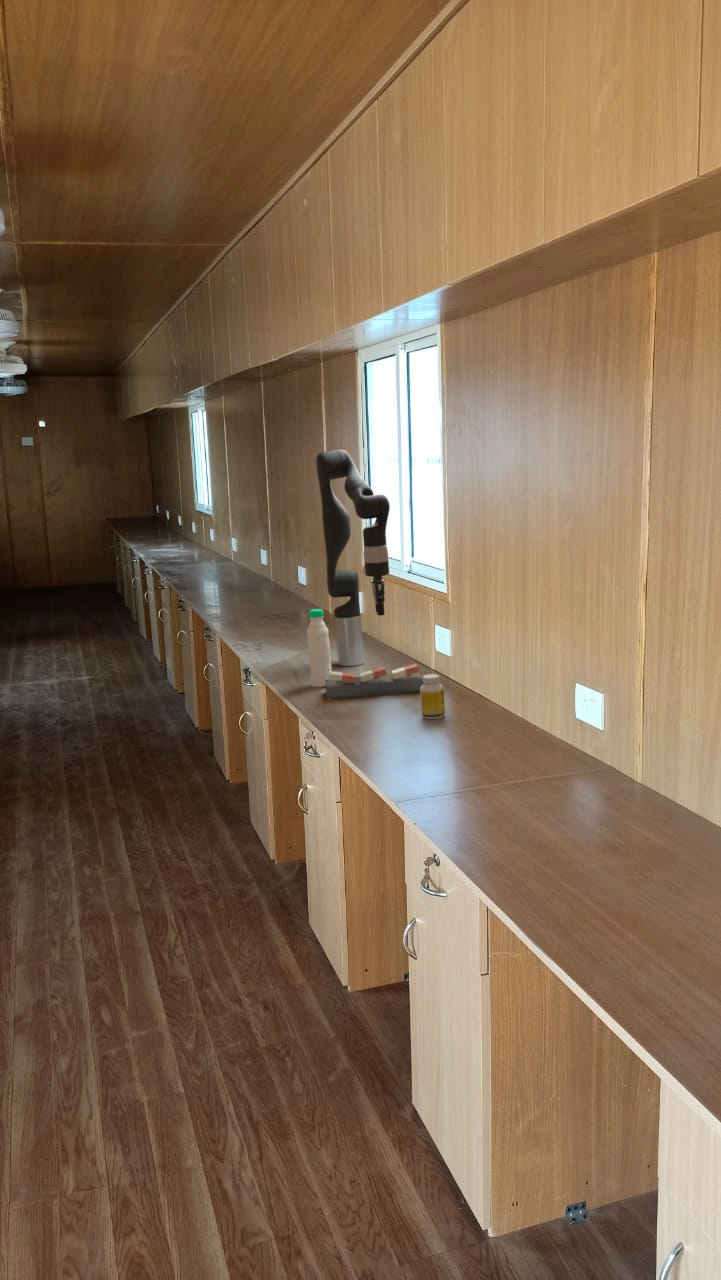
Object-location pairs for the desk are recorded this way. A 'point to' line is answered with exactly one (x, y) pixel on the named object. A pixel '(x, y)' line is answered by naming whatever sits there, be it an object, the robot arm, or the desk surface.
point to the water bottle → (318, 649)
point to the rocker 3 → (405, 671)
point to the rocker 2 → (373, 674)
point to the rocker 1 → (341, 676)
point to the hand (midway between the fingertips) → (380, 613)
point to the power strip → (374, 686)
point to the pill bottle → (432, 697)
